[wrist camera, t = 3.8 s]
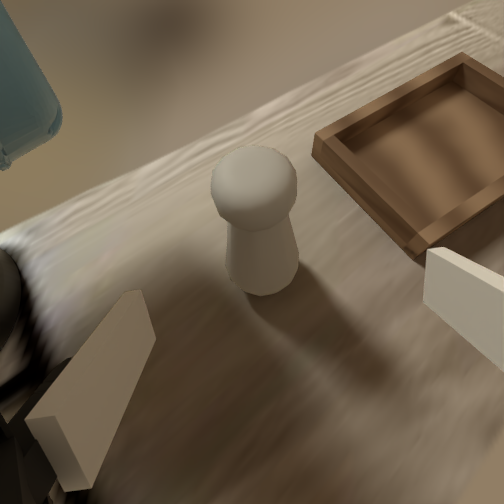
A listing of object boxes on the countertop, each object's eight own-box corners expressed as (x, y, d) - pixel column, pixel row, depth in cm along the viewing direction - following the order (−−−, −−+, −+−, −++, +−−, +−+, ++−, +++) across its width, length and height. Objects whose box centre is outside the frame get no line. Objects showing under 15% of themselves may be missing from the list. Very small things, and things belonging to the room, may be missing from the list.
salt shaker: (303, 248, 26) (328, 135, 14) (288, 310, 24) (302, 238, 12) (240, 234, 27) (214, 116, 15) (220, 292, 25) (171, 208, 13)
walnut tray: (412, 259, 25) (429, 244, 22) (311, 155, 30) (315, 132, 27) (562, 156, 28) (593, 132, 25) (446, 79, 33) (462, 51, 30)
